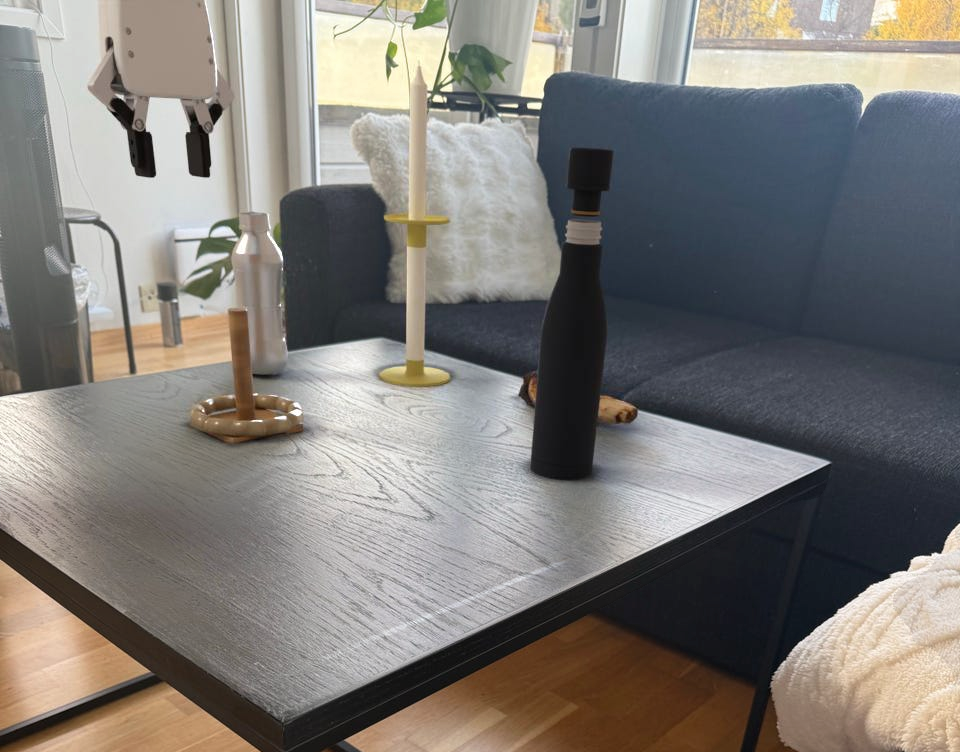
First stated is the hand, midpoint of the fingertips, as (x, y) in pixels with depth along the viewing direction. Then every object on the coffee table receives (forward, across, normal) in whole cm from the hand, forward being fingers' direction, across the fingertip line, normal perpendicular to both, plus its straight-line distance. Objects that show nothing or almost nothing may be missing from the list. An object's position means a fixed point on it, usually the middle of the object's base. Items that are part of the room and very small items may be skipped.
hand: (173, 174), depth 93 cm
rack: (+25, -2, +7) cm, 26 cm away
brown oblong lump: (+26, -36, +25) cm, 51 cm away
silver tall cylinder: (+26, -18, -14) cm, 34 cm away
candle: (+26, -34, -1) cm, 43 cm away
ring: (+23, -2, +7) cm, 24 cm away
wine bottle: (+26, -20, +38) cm, 50 cm away
